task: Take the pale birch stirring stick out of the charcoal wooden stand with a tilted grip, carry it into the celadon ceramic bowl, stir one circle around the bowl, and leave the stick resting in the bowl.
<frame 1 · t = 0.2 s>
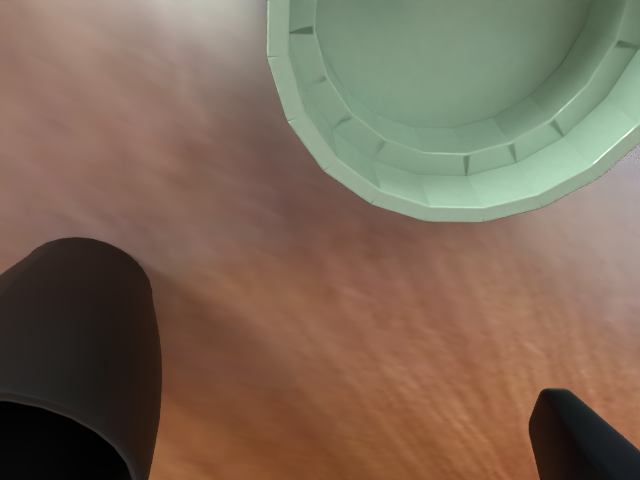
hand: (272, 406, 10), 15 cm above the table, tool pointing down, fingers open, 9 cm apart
mug: (104, 318, 28), on the table
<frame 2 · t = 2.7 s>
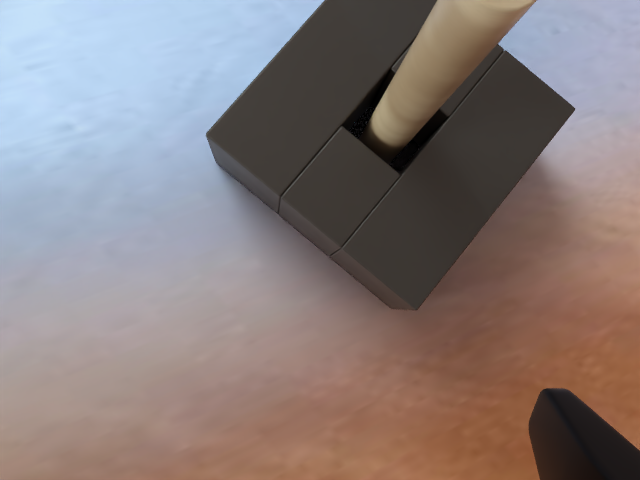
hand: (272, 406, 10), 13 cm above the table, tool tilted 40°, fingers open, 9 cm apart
stand: (375, 150, 24), on the table
stick: (375, 150, 24), resting in stand
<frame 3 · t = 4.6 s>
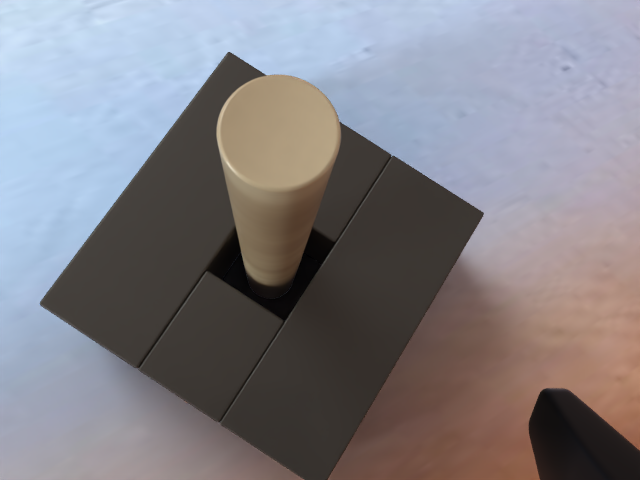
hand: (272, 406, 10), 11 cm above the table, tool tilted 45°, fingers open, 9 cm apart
stand: (270, 275, 21), on the table
stick: (270, 275, 21), resting in stand
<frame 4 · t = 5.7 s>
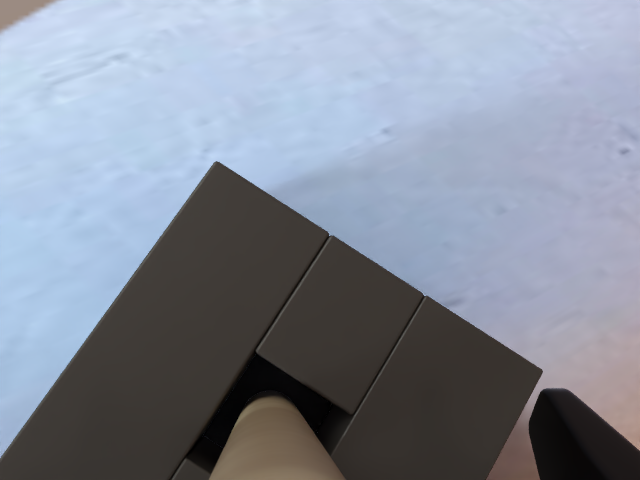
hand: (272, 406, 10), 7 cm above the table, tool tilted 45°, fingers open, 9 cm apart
stand: (269, 419, 17), on the table
stick: (269, 419, 17), resting in stand
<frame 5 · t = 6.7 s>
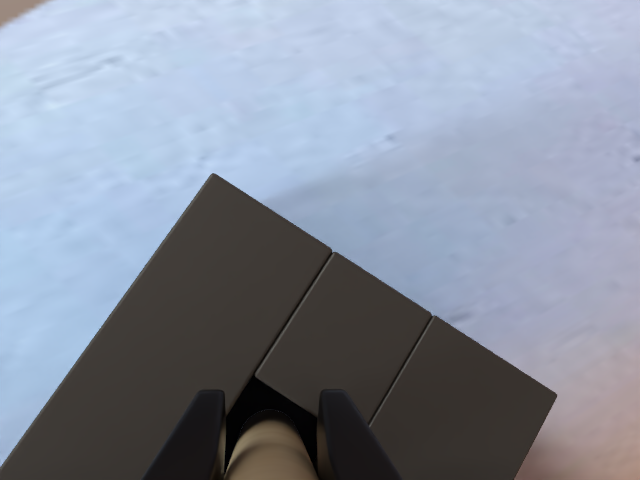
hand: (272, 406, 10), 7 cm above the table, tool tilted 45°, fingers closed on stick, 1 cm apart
stand: (269, 439, 16), on the table
stick: (269, 439, 16), resting in stand, touching gripper
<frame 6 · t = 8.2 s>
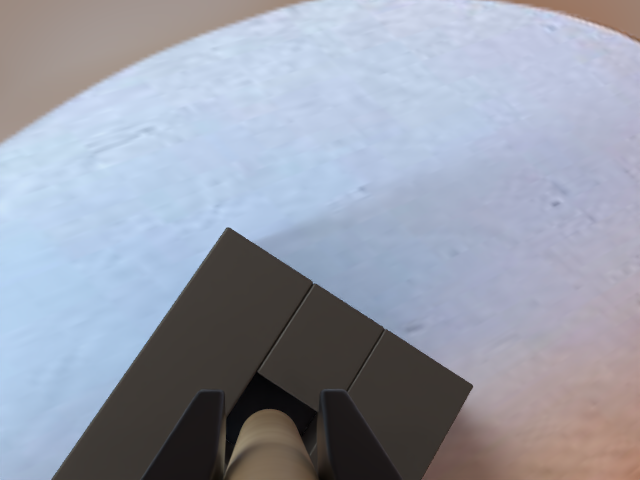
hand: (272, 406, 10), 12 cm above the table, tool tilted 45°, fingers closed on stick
stand: (268, 421, 22), on the table
stick: (268, 439, 16), point 5 cm above the table, touching gripper
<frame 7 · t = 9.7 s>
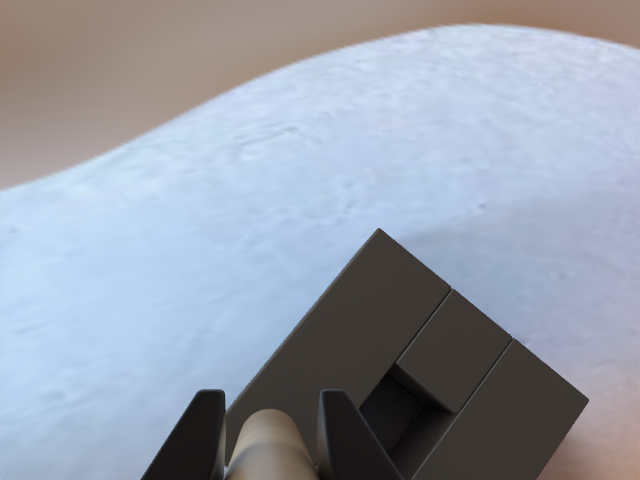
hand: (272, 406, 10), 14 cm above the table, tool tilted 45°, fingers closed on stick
stand: (379, 410, 23), on the table
stick: (269, 439, 16), point 7 cm above the table, touching gripper
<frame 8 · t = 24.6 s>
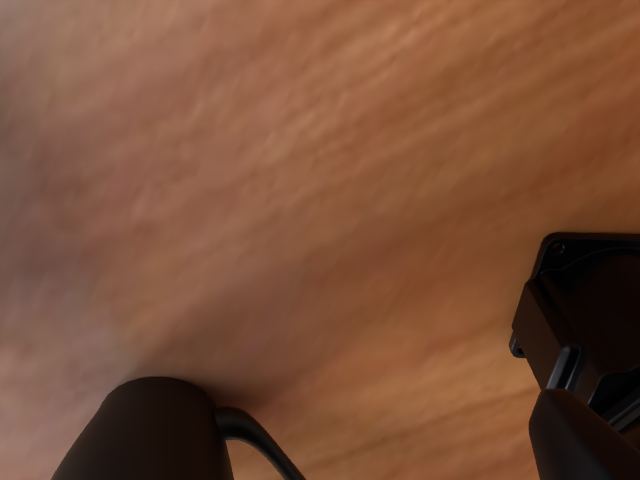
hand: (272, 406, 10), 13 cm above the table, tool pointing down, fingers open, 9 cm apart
mug: (200, 407, 29), on the table
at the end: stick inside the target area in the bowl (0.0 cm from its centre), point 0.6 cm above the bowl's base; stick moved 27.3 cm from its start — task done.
